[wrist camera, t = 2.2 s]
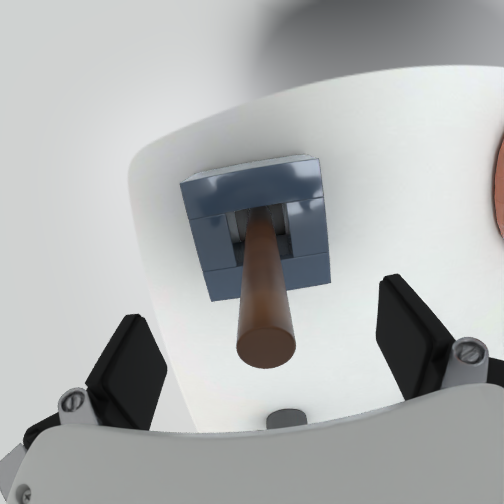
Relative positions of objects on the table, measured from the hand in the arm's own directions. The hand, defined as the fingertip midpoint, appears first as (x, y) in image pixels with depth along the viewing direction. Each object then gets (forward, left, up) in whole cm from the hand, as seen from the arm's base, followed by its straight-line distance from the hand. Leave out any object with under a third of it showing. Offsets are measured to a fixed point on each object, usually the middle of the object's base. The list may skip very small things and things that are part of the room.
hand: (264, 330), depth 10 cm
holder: (0, 0, -15) cm, 15 cm away
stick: (0, 0, -15) cm, 15 cm away
